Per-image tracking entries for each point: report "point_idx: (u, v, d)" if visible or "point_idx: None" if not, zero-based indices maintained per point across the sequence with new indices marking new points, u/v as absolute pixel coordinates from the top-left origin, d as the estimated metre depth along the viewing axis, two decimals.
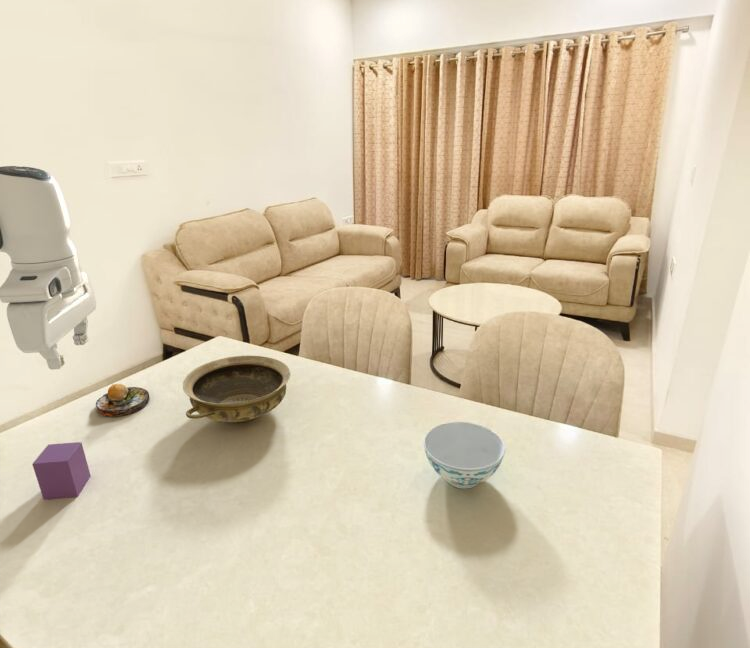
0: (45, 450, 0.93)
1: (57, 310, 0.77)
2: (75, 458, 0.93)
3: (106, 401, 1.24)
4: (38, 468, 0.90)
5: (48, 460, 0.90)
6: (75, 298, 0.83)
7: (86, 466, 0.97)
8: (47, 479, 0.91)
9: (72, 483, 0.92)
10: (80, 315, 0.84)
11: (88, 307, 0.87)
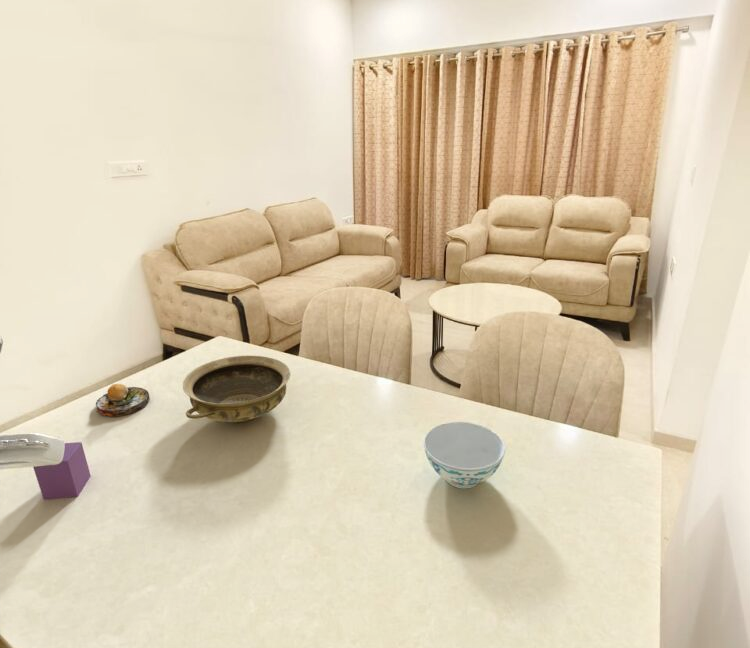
0: None
1: None
2: (75, 458, 0.93)
3: (106, 401, 1.24)
4: (38, 468, 0.90)
5: None
6: None
7: (86, 466, 0.97)
8: (47, 479, 0.91)
9: (72, 483, 0.92)
10: (8, 468, 0.73)
11: (33, 465, 0.74)
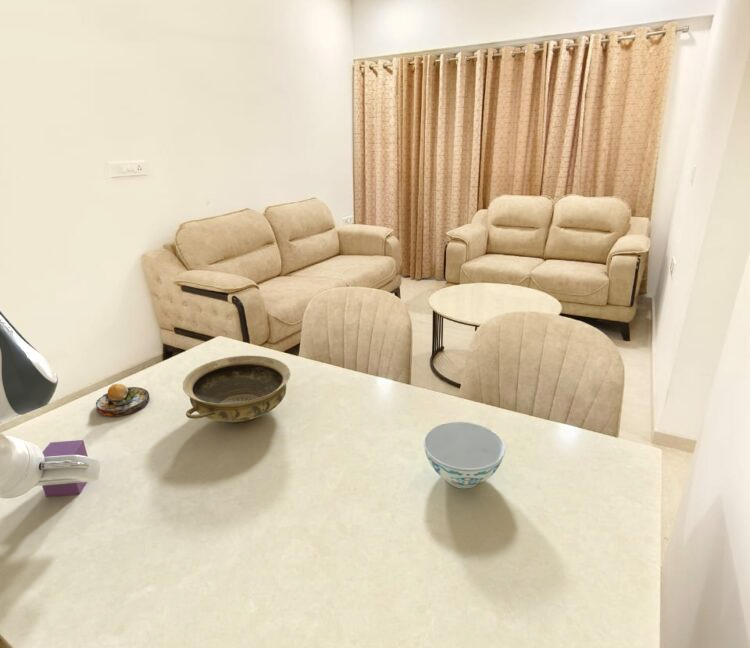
0: (47, 448, 0.94)
1: None
2: None
3: (106, 401, 1.24)
4: None
5: None
6: (44, 480, 0.83)
7: None
8: None
9: None
10: (52, 484, 0.85)
11: (74, 482, 0.85)
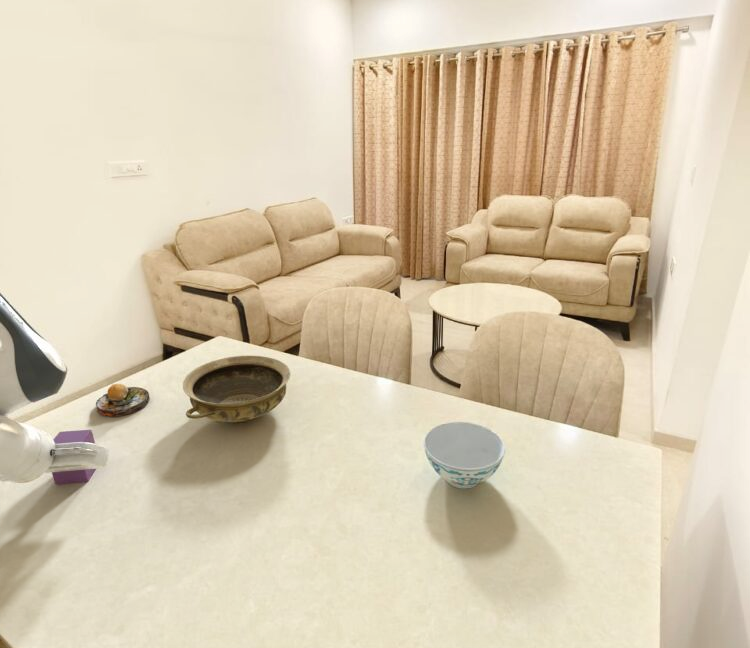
0: (57, 437, 0.97)
1: None
2: None
3: (106, 401, 1.24)
4: None
5: None
6: (55, 466, 0.86)
7: None
8: None
9: None
10: (62, 470, 0.88)
11: (83, 468, 0.89)
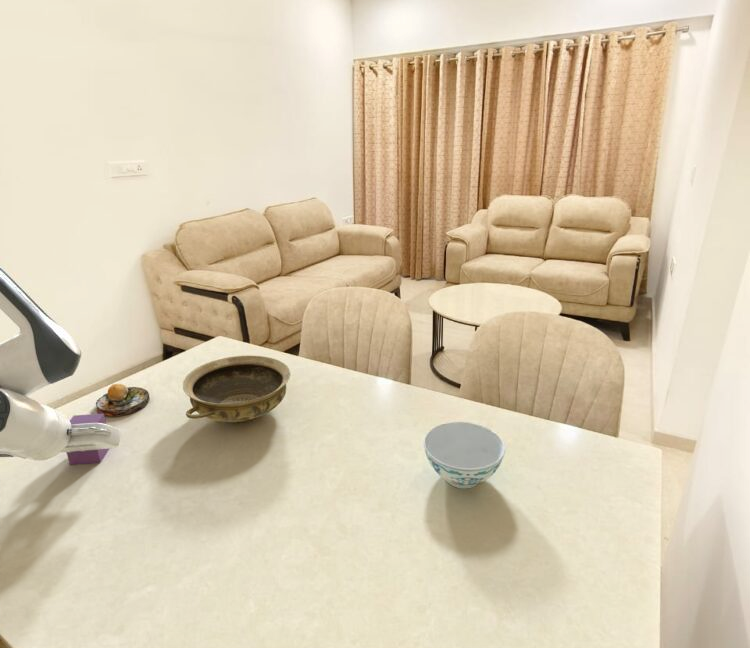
0: (71, 420, 1.03)
1: None
2: None
3: (106, 401, 1.24)
4: None
5: None
6: (71, 446, 0.91)
7: None
8: None
9: None
10: (77, 450, 0.94)
11: (97, 448, 0.94)
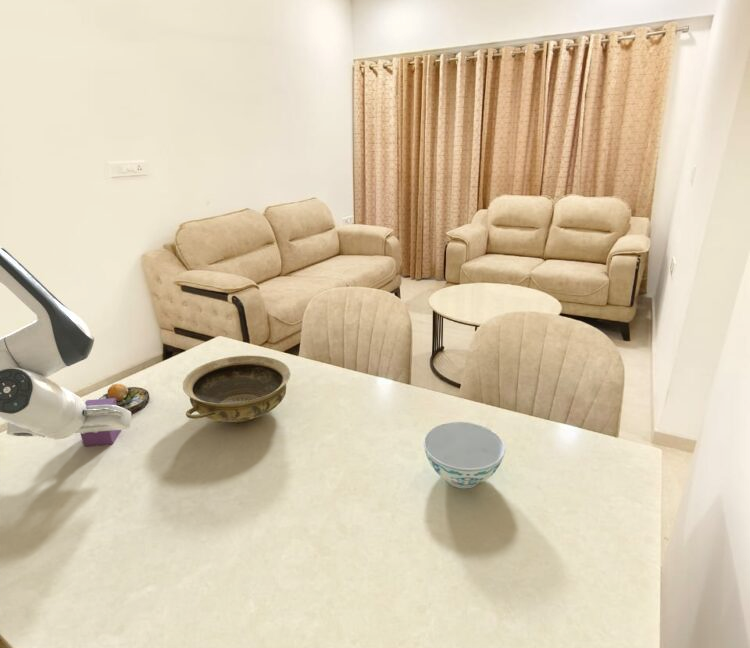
0: None
1: None
2: None
3: None
4: None
5: None
6: (85, 426, 0.97)
7: None
8: None
9: (109, 432, 1.07)
10: (91, 431, 1.00)
11: (109, 429, 1.00)
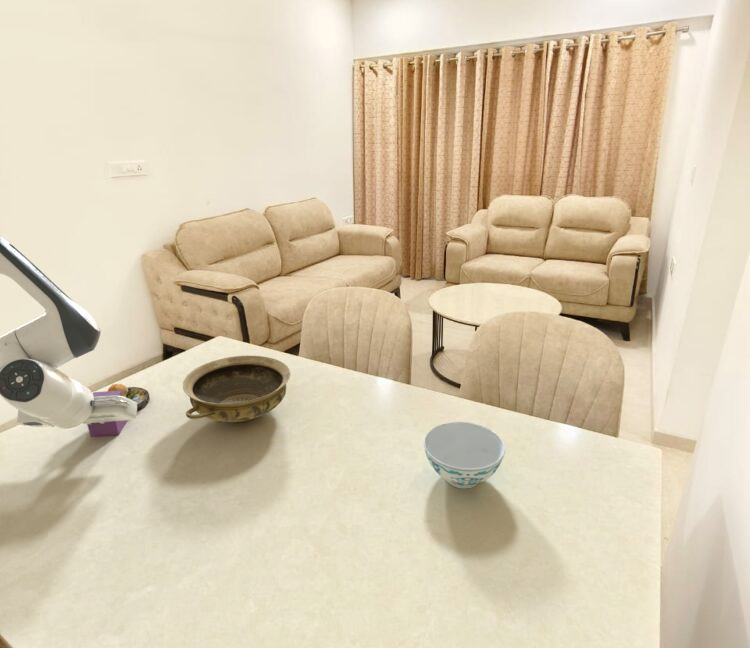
0: None
1: None
2: None
3: None
4: None
5: None
6: (93, 416, 1.01)
7: None
8: None
9: (115, 423, 1.10)
10: (98, 421, 1.03)
11: (116, 420, 1.03)
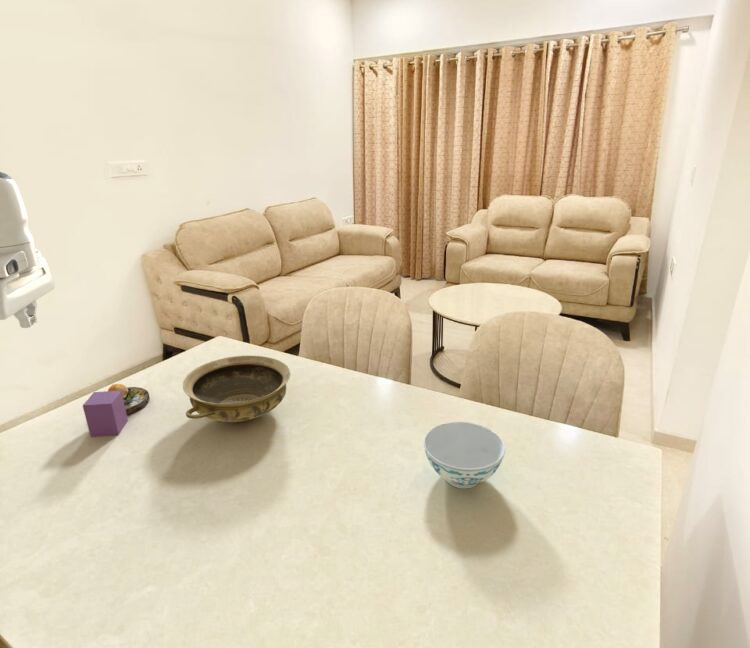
0: (92, 396, 1.12)
1: (15, 287, 0.94)
2: (116, 402, 1.11)
3: None
4: (87, 409, 1.08)
5: (95, 403, 1.09)
6: (33, 278, 1.00)
7: (124, 411, 1.16)
8: (94, 419, 1.09)
9: (115, 423, 1.10)
10: (38, 292, 1.01)
11: (46, 286, 1.04)
